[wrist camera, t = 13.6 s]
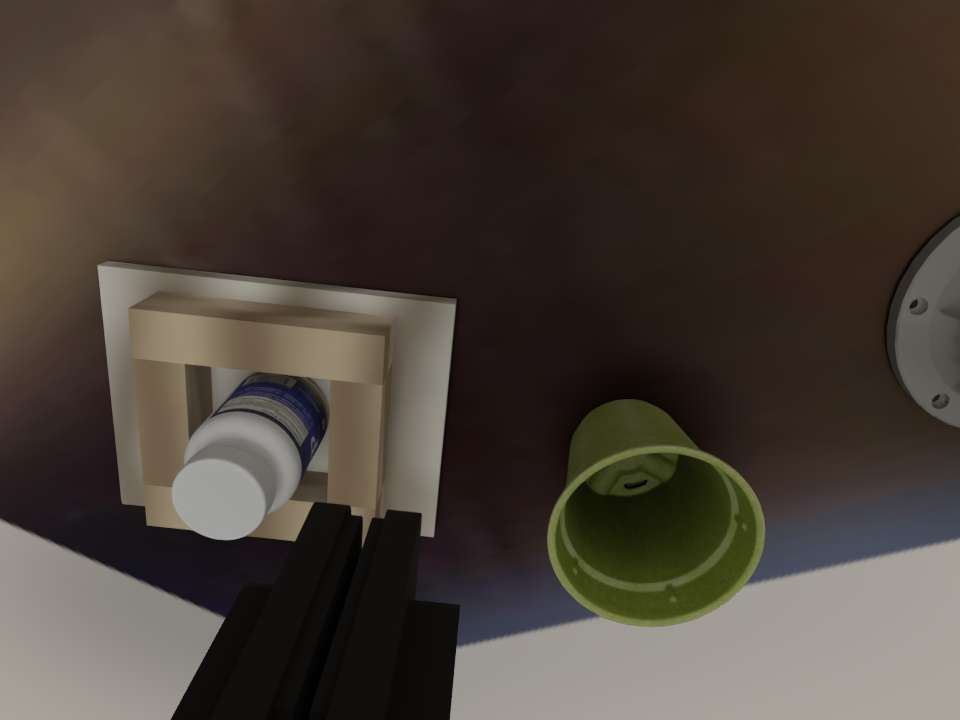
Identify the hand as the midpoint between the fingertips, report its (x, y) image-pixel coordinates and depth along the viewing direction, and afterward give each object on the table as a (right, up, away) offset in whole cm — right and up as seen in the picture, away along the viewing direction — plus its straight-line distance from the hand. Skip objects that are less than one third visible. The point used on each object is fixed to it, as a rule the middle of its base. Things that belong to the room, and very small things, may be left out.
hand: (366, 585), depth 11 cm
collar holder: (-9, +1, +27) cm, 28 cm away
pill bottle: (-9, +1, +26) cm, 27 cm away
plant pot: (+10, -1, +27) cm, 29 cm away
